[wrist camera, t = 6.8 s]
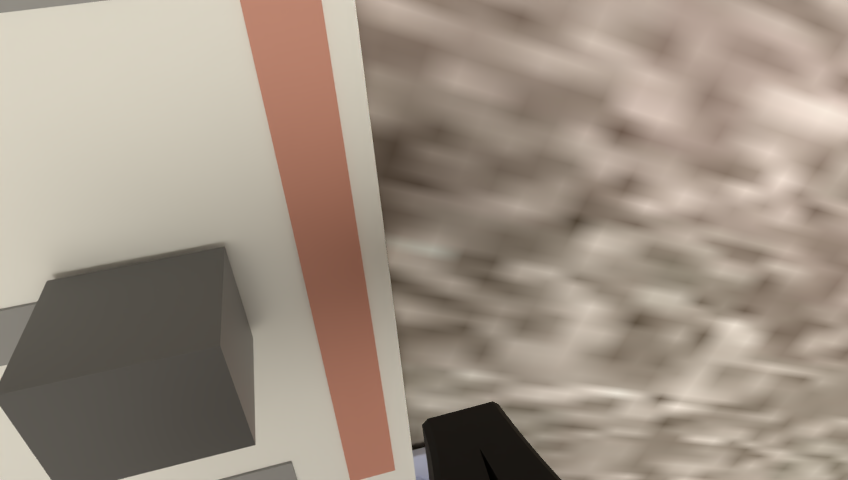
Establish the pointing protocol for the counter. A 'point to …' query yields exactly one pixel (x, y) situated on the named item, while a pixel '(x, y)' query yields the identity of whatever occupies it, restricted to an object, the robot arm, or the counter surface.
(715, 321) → the counter surface
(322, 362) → the breaker panel
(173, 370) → the block
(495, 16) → the counter surface
